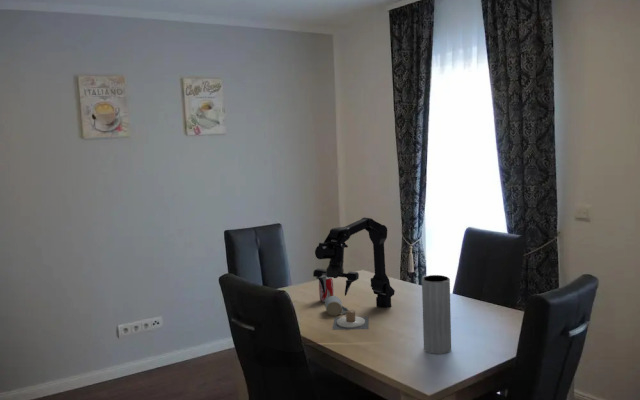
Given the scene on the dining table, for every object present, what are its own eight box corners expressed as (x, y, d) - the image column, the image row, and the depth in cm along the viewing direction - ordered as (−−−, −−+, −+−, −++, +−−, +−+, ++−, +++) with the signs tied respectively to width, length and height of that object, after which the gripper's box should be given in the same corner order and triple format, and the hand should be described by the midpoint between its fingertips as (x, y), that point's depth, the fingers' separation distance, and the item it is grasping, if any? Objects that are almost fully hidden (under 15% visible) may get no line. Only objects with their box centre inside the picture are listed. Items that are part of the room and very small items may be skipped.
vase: (431, 342, 206) (429, 273, 203) (455, 347, 200) (454, 277, 197) (418, 350, 198) (416, 279, 195) (443, 356, 192) (441, 283, 189)
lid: (365, 318, 235) (364, 307, 234) (364, 327, 223) (364, 316, 222) (337, 318, 236) (337, 307, 235) (336, 328, 224) (335, 316, 223)
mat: (368, 318, 236) (368, 316, 236) (368, 330, 221) (368, 328, 221) (334, 319, 237) (334, 317, 237) (332, 331, 223) (332, 329, 222)
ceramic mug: (326, 317, 240) (326, 301, 239) (325, 312, 248) (324, 295, 247) (350, 316, 240) (349, 300, 239) (348, 310, 248) (347, 294, 247)
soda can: (332, 303, 260) (331, 279, 259) (318, 302, 262) (317, 279, 261) (335, 298, 267) (334, 275, 266) (321, 298, 269) (320, 275, 267)
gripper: (310, 258, 222) (308, 295, 223) (354, 262, 217) (352, 300, 218) (317, 255, 233) (316, 291, 234) (359, 259, 228) (357, 295, 228)
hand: (334, 294), depth 228 cm, fingers open, 9 cm apart
